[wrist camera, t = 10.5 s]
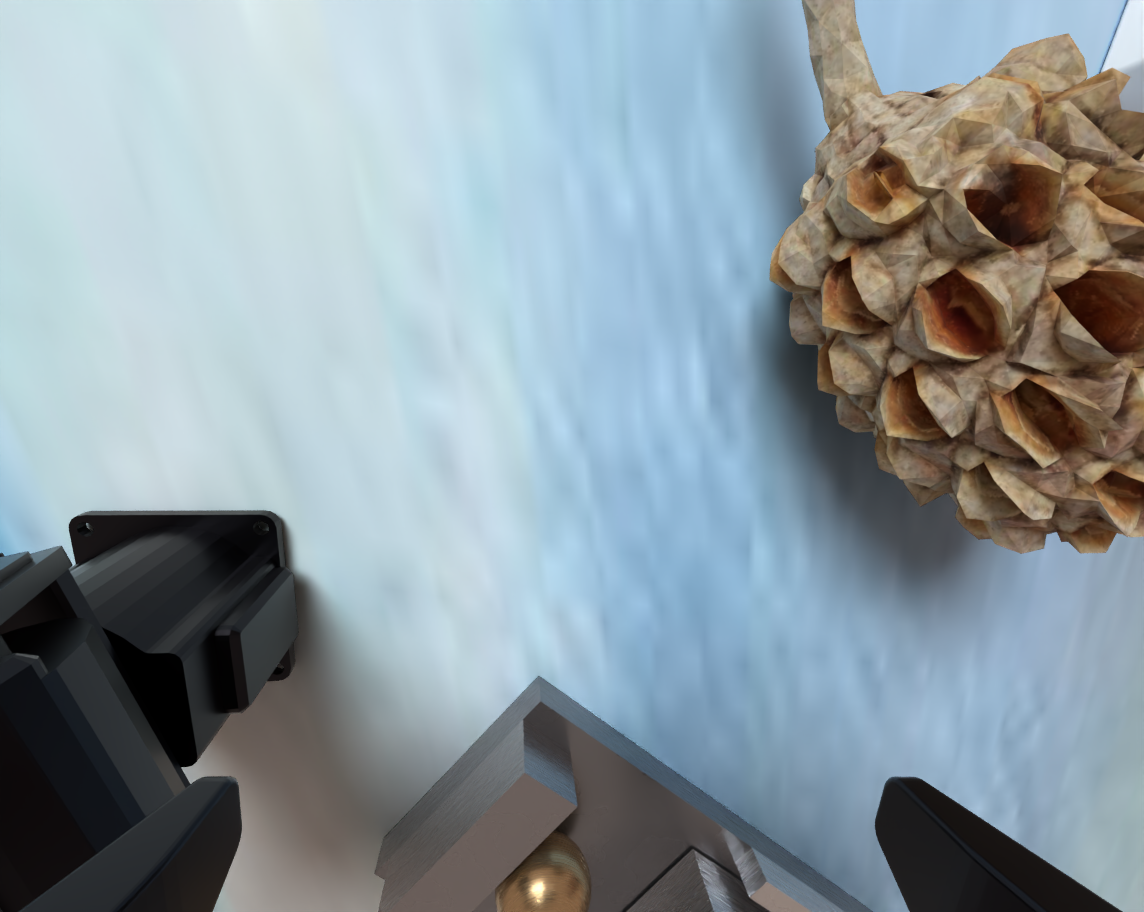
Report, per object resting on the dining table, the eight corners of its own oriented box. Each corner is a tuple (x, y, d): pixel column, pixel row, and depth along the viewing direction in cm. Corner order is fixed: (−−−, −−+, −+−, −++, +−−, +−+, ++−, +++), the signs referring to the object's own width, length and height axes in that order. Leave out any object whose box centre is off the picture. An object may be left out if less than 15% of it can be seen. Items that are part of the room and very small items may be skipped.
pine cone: (1054, 395, 21) (1494, 461, 12) (843, 530, 22) (1102, 698, 12) (809, -242, 16) (1286, -1134, 6) (531, -39, 16) (559, -564, 6)
